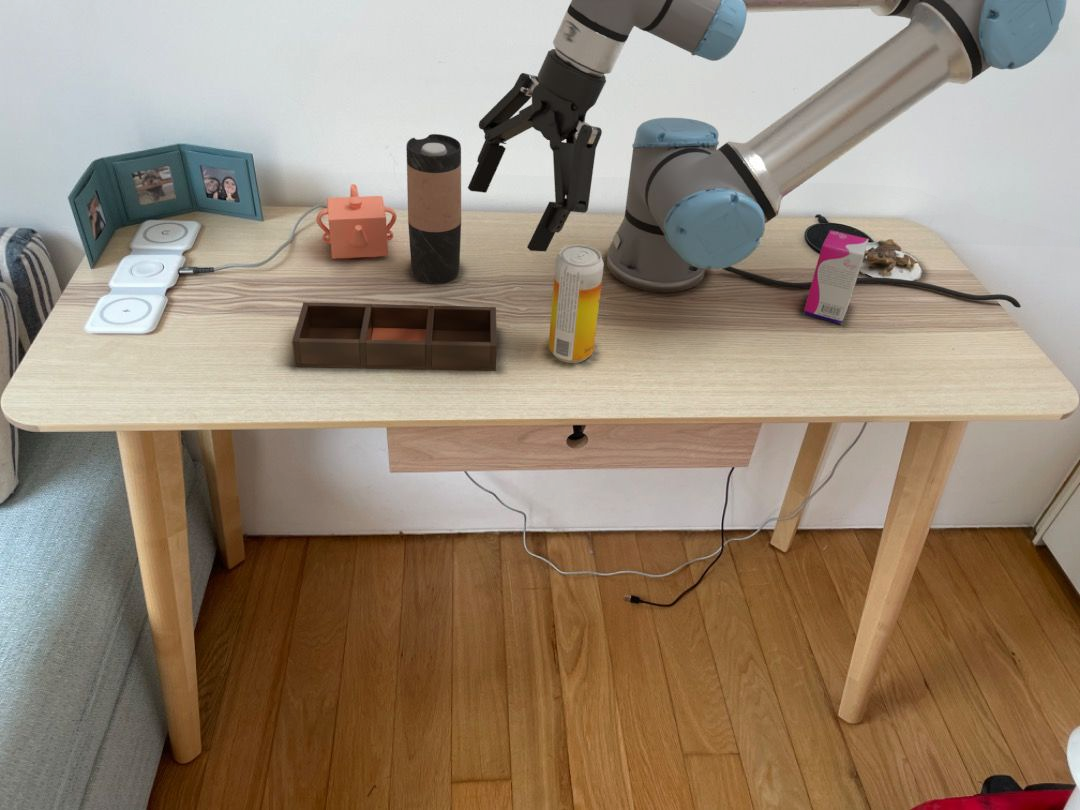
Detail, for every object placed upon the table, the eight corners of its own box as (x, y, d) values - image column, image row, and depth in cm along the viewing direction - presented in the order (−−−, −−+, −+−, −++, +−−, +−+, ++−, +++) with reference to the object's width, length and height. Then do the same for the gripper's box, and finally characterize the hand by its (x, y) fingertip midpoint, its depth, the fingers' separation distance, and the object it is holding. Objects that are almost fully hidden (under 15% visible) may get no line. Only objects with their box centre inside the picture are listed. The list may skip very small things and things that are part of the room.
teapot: (321, 276, 133) (315, 225, 128) (318, 227, 144) (313, 179, 139) (402, 272, 135) (400, 221, 130) (393, 224, 147) (391, 176, 141)
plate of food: (895, 291, 140) (903, 270, 137) (832, 258, 147) (838, 237, 144) (936, 270, 146) (944, 249, 143) (873, 239, 153) (880, 219, 150)
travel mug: (452, 288, 133) (452, 159, 120) (403, 280, 134) (397, 151, 121) (466, 263, 139) (468, 137, 126) (418, 255, 140) (415, 130, 127)
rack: (495, 331, 125) (496, 306, 122) (495, 370, 118) (496, 345, 115) (306, 326, 123) (303, 302, 120) (295, 367, 116) (291, 341, 113)
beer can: (598, 345, 124) (610, 248, 114) (585, 369, 119) (596, 271, 110) (556, 334, 125) (564, 238, 116) (542, 358, 121) (549, 260, 111)
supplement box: (848, 306, 136) (870, 238, 128) (841, 325, 131) (863, 256, 124) (810, 295, 137) (830, 227, 130) (801, 314, 133) (821, 245, 126)
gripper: (496, 7, 108) (432, 164, 119) (626, 110, 96) (541, 275, 106) (540, 20, 113) (475, 170, 124) (668, 120, 101) (584, 276, 112)
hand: (505, 219), depth 115 cm, fingers open, 13 cm apart
